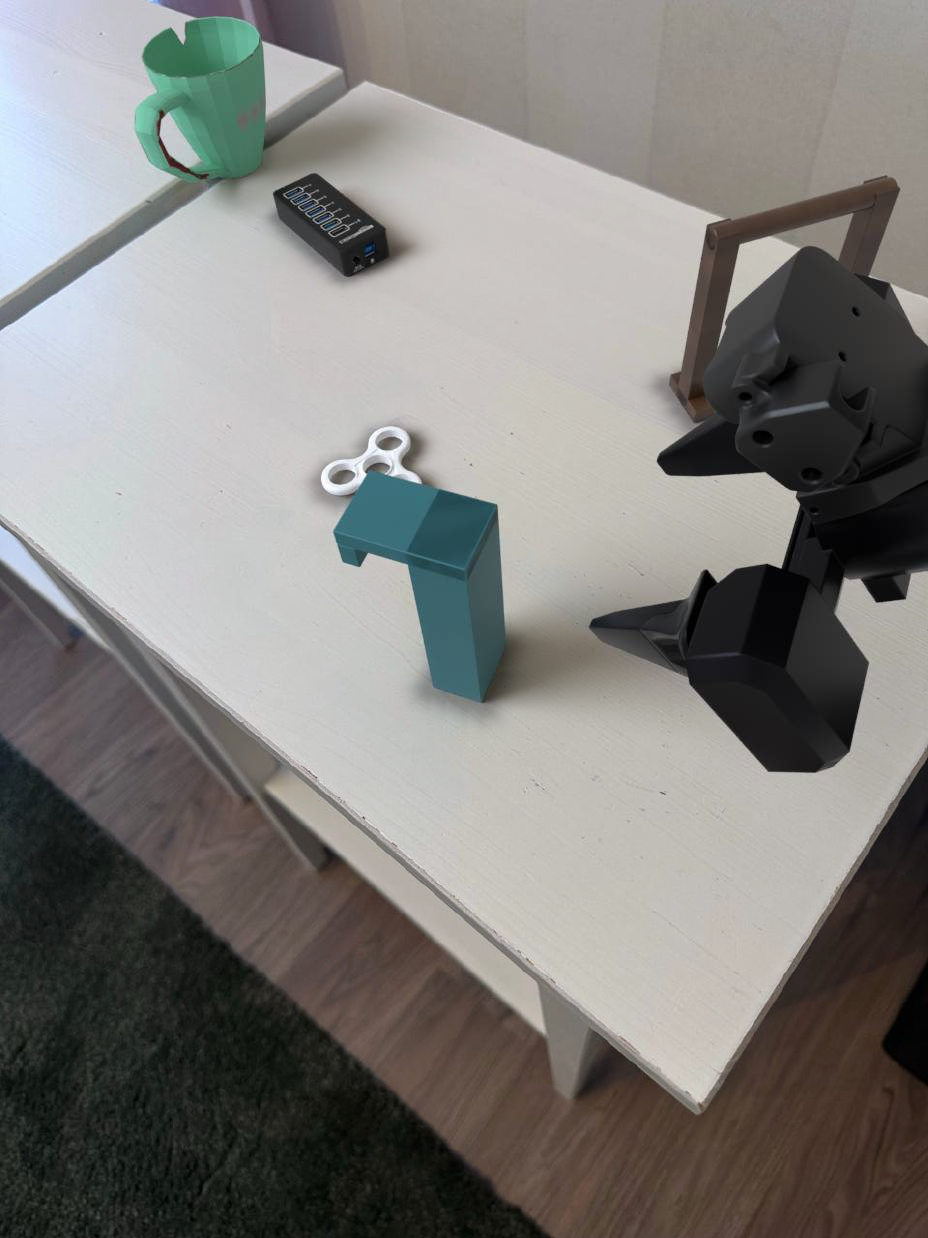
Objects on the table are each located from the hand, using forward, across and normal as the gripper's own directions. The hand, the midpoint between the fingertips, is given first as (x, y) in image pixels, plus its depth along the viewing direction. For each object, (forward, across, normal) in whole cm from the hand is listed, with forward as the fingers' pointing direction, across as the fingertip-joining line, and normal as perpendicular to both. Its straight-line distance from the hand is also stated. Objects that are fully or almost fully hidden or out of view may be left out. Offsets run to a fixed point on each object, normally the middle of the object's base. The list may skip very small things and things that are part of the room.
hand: (630, 543), depth 38 cm
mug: (+47, -38, -19) cm, 63 cm away
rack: (+8, -28, +13) cm, 31 cm away
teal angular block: (+17, +1, +5) cm, 18 cm away
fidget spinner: (+24, -11, 0) cm, 26 cm away
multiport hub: (+37, -33, -10) cm, 51 cm away
